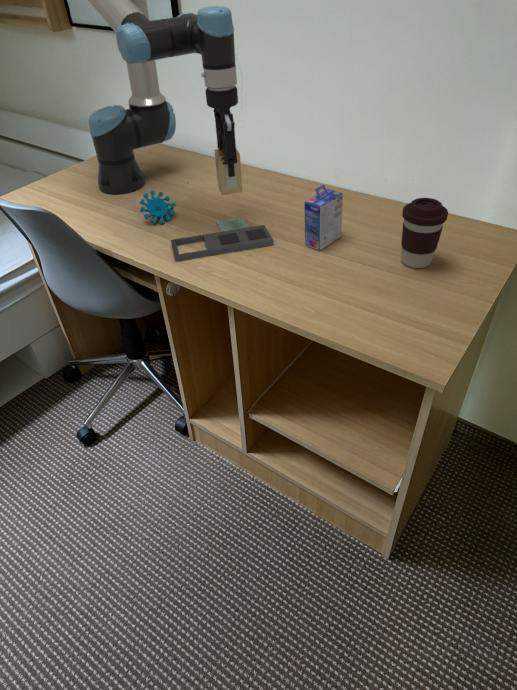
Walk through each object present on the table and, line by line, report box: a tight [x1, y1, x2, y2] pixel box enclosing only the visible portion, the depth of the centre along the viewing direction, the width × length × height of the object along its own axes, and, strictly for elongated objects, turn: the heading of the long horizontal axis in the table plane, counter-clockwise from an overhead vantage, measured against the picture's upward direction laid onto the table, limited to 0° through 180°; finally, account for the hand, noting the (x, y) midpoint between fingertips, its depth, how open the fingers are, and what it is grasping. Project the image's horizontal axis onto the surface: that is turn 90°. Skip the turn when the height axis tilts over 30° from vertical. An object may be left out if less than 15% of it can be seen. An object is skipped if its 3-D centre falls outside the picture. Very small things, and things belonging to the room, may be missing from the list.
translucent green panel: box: [216, 216, 249, 232], centre depth 139 cm, size 8×8×1 cm
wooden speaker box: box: [214, 148, 244, 196], centre depth 129 cm, size 6×6×10 cm
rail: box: [170, 224, 274, 262], centre depth 131 cm, size 9×26×2 cm, turn 104°
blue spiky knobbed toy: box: [139, 190, 178, 225], centre depth 145 cm, size 11×6×10 cm
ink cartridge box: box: [304, 184, 344, 251], centre depth 126 cm, size 10×6×14 cm, turn 138°
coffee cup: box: [400, 197, 449, 269], centre depth 117 cm, size 10×10×15 cm
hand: (229, 182), depth 131 cm, fingers closed on wooden speaker box, 5 cm apart
